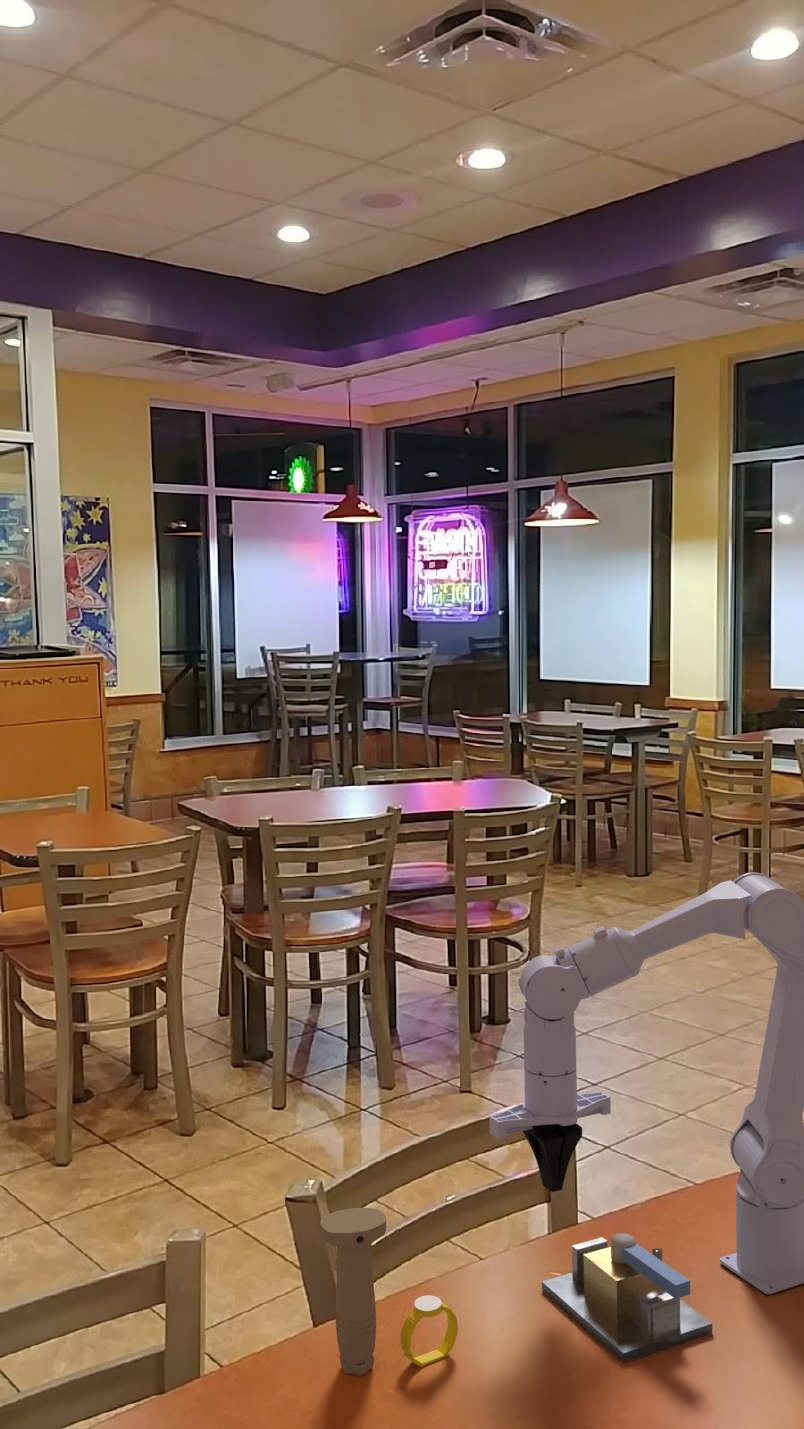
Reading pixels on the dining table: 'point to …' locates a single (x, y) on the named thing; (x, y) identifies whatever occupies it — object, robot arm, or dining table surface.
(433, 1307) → the watch
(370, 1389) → the dining table surface
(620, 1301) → the valve
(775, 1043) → the robot arm
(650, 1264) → the lever
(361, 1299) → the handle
